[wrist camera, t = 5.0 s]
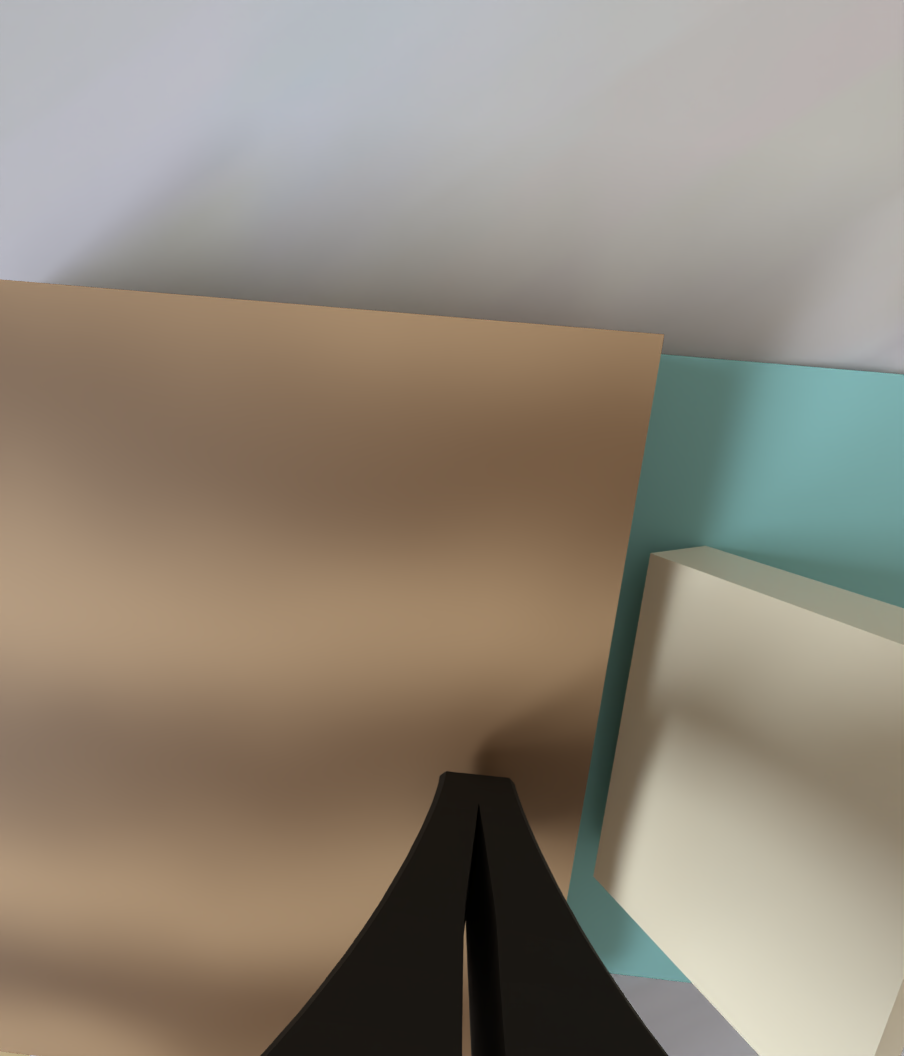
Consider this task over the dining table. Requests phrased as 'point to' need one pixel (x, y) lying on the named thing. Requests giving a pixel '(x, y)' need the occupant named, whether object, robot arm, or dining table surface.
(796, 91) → the dining table surface
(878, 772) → the cream bevelled block
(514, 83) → the dining table surface
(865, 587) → the mat
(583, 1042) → the robot arm
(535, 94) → the dining table surface
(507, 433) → the wooden block
